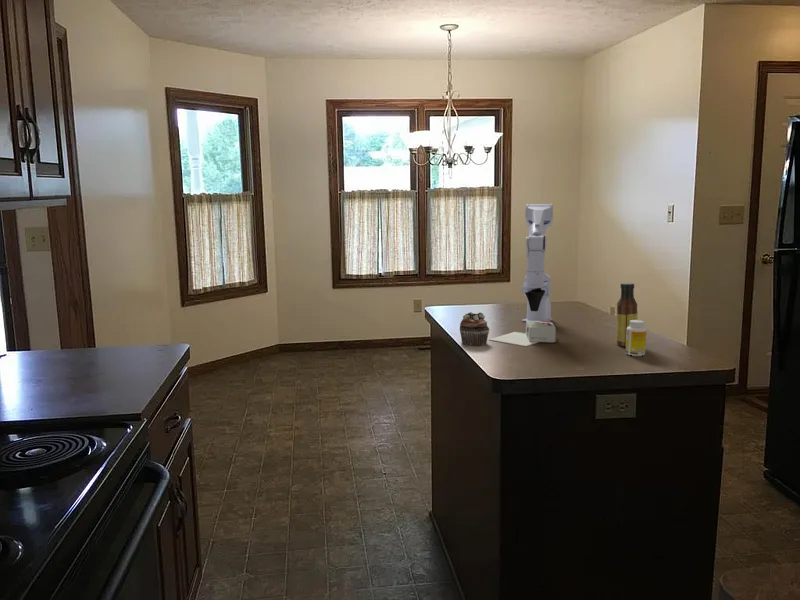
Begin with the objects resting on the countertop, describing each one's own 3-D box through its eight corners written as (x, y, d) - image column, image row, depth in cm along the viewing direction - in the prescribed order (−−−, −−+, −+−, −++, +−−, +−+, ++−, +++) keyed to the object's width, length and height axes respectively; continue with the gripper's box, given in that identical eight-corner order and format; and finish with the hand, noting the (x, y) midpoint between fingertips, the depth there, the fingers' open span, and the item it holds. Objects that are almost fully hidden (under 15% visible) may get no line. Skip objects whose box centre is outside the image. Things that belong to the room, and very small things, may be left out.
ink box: (551, 320, 219) (557, 327, 208) (550, 334, 220) (556, 342, 208) (525, 320, 220) (529, 327, 208) (525, 334, 221) (529, 341, 209)
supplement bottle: (649, 355, 192) (651, 321, 190) (635, 357, 189) (637, 323, 188) (634, 351, 197) (636, 318, 195) (621, 353, 194) (622, 320, 193)
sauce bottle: (637, 344, 206) (641, 282, 203) (636, 348, 201) (639, 284, 198) (616, 342, 209) (619, 281, 206) (613, 346, 204) (617, 283, 200)
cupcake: (455, 345, 206) (456, 314, 204) (463, 339, 215) (464, 309, 213) (485, 347, 203) (486, 316, 201) (492, 341, 212) (492, 311, 210)
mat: (515, 332, 225) (515, 331, 225) (551, 338, 216) (551, 337, 216) (488, 340, 213) (488, 339, 213) (525, 346, 204) (525, 345, 204)
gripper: (536, 268, 225) (534, 306, 227) (513, 272, 215) (512, 312, 217) (554, 269, 221) (552, 309, 223) (532, 273, 210) (531, 315, 212)
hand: (534, 311), depth 220 cm, fingers closed
